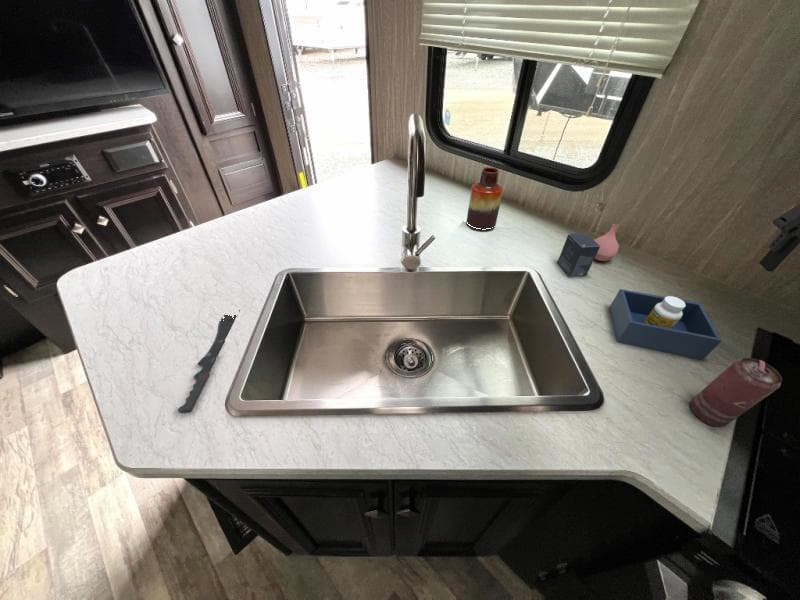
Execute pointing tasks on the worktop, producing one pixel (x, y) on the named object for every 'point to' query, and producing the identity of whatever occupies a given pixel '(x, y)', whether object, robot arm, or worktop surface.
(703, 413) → the can
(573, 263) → the box
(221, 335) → the knife
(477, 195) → the vase
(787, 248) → the robot arm
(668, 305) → the supplement bottle
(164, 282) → the worktop surface
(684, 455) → the worktop surface
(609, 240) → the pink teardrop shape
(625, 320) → the box
